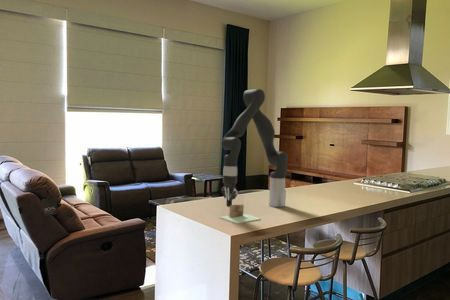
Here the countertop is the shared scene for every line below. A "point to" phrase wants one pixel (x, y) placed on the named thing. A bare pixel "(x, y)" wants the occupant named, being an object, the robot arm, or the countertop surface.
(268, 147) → the robot arm
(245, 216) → the mat
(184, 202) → the countertop surface
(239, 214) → the brown wooden block
